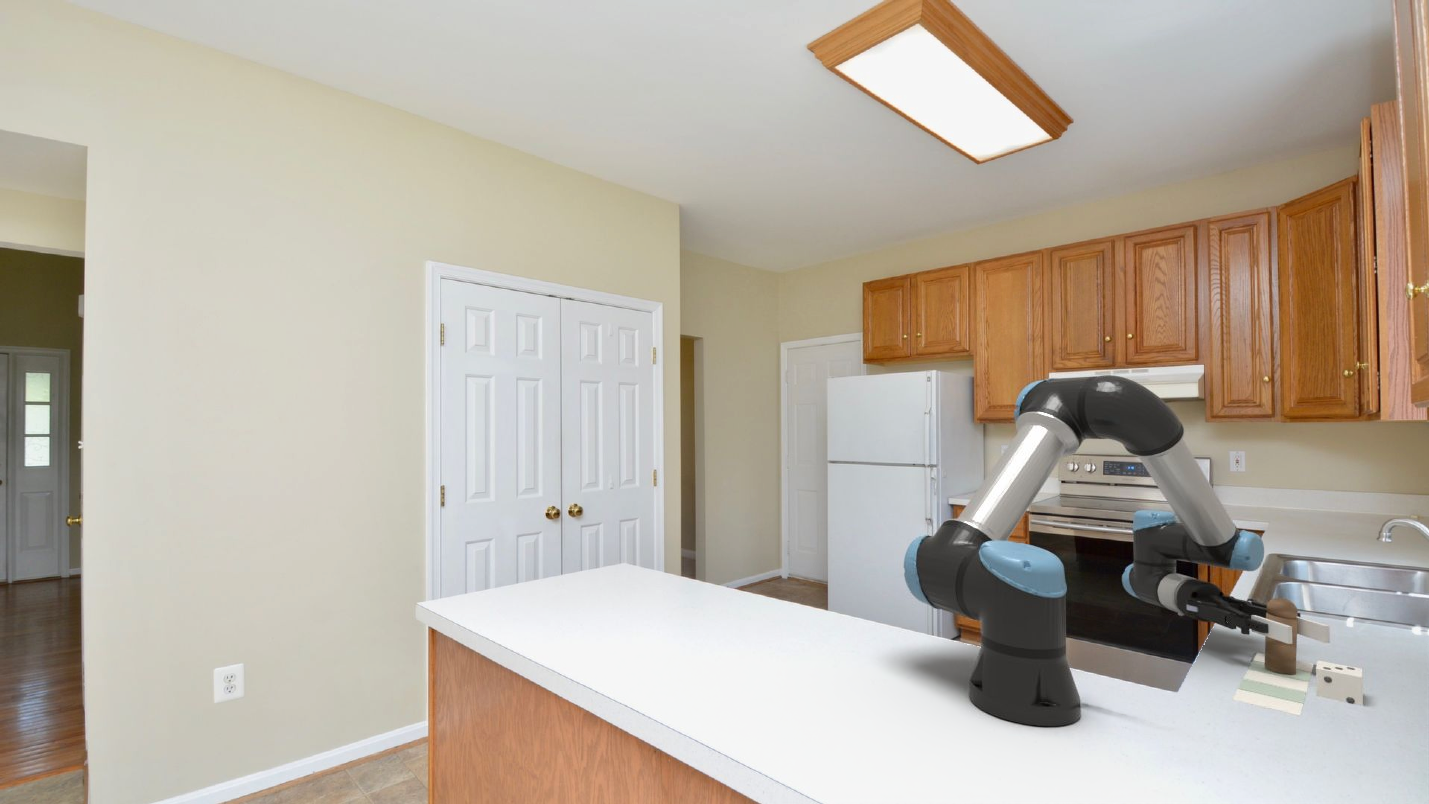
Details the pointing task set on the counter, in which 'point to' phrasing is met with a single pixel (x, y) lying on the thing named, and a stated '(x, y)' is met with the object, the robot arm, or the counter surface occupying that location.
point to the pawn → (1278, 652)
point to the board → (1269, 702)
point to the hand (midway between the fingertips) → (1308, 634)
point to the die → (1339, 682)
